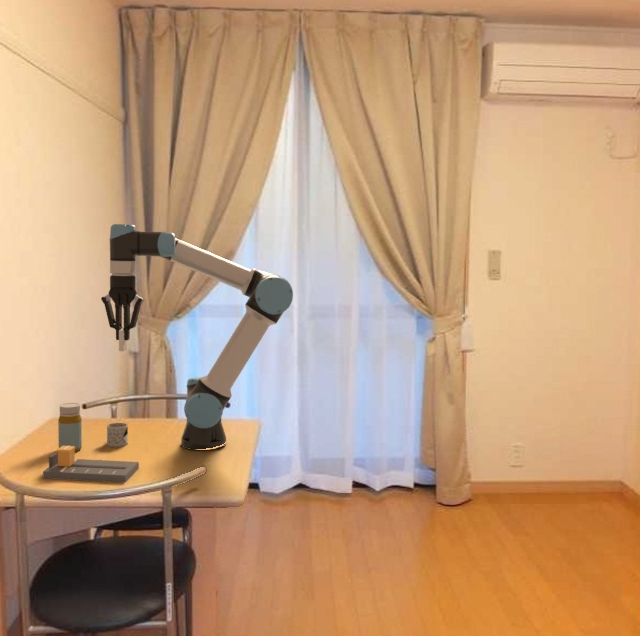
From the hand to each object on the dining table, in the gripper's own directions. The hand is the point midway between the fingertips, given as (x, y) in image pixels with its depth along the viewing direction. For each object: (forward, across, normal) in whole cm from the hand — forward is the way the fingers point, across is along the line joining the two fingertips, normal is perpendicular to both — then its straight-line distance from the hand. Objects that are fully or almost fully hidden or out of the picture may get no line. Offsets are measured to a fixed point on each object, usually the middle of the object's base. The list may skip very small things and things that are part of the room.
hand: (122, 350), depth 210 cm
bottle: (+35, +19, -5) cm, 40 cm away
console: (+34, +4, +15) cm, 38 cm away
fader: (+32, +12, +15) cm, 37 cm away
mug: (+35, +7, -15) cm, 38 cm away
